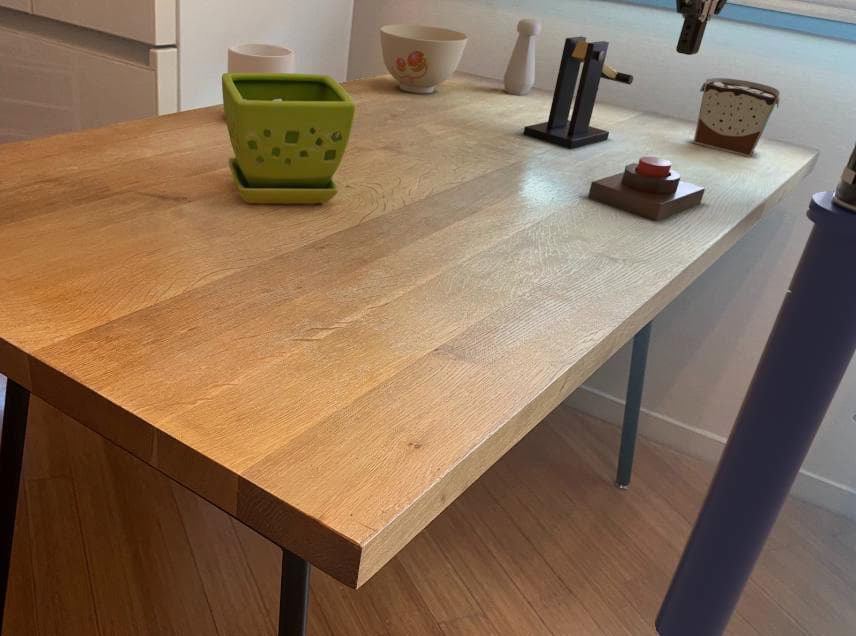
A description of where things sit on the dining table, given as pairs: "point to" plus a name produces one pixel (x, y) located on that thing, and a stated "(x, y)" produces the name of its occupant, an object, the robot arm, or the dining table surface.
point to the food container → (734, 114)
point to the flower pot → (286, 135)
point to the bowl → (421, 55)
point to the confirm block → (646, 193)
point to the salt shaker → (522, 59)
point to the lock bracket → (578, 128)
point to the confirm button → (654, 166)
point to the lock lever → (607, 70)
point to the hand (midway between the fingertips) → (686, 53)
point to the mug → (260, 59)
